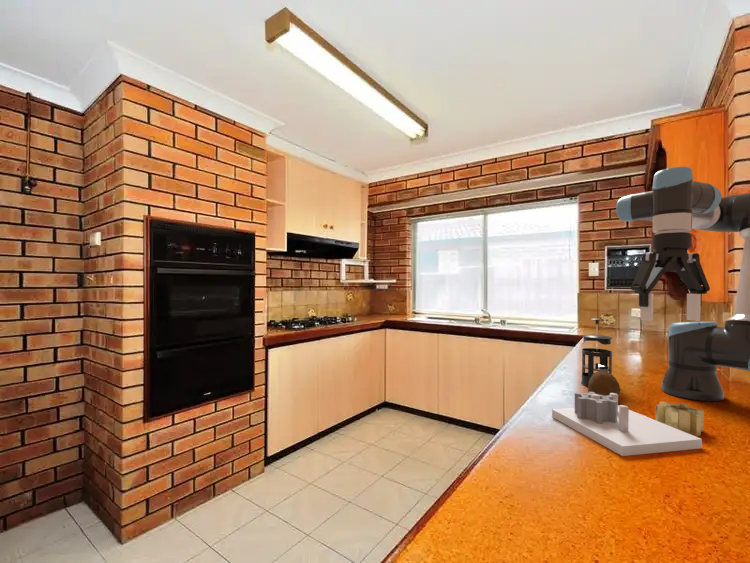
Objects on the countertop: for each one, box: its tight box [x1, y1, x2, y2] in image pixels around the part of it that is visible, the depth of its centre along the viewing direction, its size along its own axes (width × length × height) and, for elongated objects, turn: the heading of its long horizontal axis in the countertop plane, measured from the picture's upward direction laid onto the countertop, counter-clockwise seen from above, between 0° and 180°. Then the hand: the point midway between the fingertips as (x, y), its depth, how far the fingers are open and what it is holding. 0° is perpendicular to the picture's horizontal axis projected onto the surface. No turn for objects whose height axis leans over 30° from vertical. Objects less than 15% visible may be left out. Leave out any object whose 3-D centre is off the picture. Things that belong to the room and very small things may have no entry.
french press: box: [580, 317, 613, 388], centre depth 128 cm, size 12×9×23 cm
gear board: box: [551, 391, 703, 457], centre depth 89 cm, size 20×22×8 cm
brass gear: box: [655, 400, 705, 437], centre depth 91 cm, size 9×9×5 cm
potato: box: [587, 371, 622, 397], centre depth 112 cm, size 8×12×9 cm
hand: (670, 320), depth 90 cm, fingers open, 13 cm apart
